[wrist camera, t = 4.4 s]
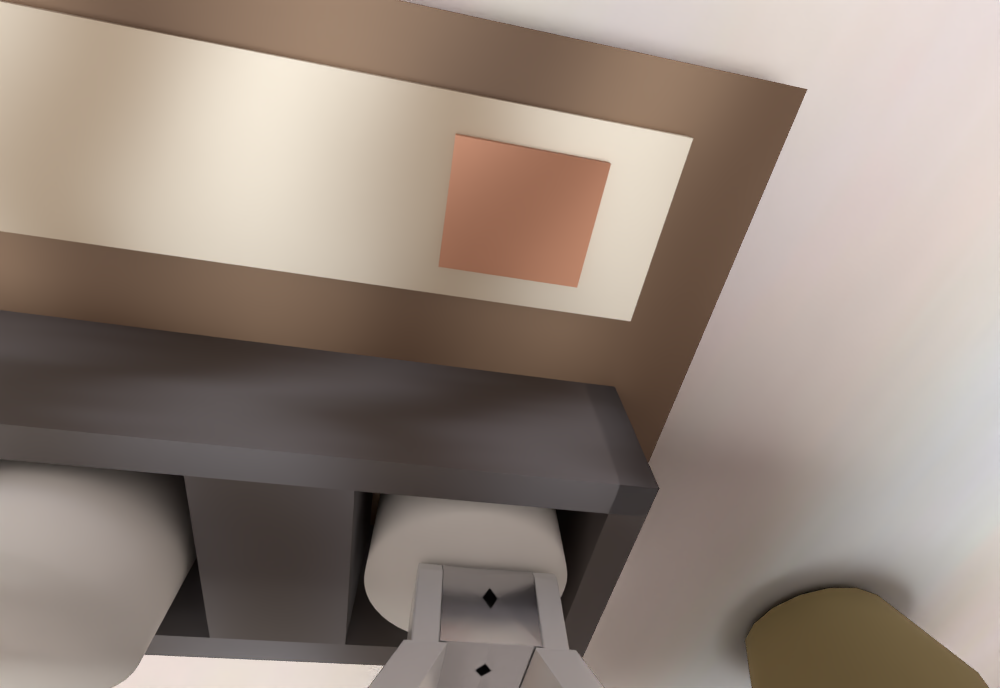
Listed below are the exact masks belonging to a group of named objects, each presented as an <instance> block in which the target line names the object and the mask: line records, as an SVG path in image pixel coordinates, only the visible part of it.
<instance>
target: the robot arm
mask: <svg viewBox="0 0 1000 688" xmlns="http://www.w3.org/2000/svg"><path fill="white" fill-rule="evenodd" d="M368 688H604V687H603V685H602V684H601V683H600V681H599V680H598V679H597V677H596V676H595V675H594V673H593V672H592V671H591V669H590V668H589V667H588V665H587V664H586V663H585V661H584V660H583V659H582V657H581V656H580V655H579V654H578V652H577V651H576V650H571V649H569V646H568V640H567V634H566V628H565V622H564V616H563V610H562V604H561V599H560V593H559V587H558V581H557V578H556V576H555V574H551V573H534V572H531V571H516V570H500V569H487V570H486V569H477V568H467V567H457V566H447V565H443V566H442V565H438V564H426V563H419V564H418V569H417V575H416V580H415V586H414V592H413V598H412V605H411V611H410V618H409V627H408V636H407V640H403V642H402V643H401V644H400V646H399V647H398V648H397V650H396V651H395V652H394V654H393V655H392V656H391V658H390V659H389V660H388V662H387V663H386V664H385V666H384V667H383V668H382V670H381V671H380V672H379V674H378V675H377V676H376V678H375V679H374V680H373V682H372V683H371V684H370V686H369V687H368Z"/></svg>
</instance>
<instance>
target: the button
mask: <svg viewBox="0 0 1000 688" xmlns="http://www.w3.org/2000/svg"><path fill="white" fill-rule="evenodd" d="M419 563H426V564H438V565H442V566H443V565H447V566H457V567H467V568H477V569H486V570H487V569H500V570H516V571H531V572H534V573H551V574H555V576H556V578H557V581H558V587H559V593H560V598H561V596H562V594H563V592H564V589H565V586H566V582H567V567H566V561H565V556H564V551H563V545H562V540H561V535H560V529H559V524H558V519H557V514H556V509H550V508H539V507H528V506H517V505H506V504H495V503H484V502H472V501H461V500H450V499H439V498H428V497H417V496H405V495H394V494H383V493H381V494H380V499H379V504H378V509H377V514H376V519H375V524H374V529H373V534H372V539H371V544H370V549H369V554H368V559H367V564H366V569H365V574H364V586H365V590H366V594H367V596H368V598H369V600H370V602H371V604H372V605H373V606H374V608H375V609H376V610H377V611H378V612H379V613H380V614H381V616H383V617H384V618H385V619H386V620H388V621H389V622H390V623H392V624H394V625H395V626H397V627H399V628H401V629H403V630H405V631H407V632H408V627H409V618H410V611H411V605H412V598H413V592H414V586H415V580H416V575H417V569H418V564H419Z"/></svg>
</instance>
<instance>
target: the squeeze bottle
mask: <svg viewBox="0 0 1000 688" xmlns="http://www.w3.org/2000/svg"><path fill="white" fill-rule="evenodd" d="M745 644H746V651H747V658H748V665H749V672H750V679H751V686H752V688H989V687H988V686H987V684H986V683H985V682H984V680H983V679H982V677H981V676H980V675H979V673H978V672H976V671H975V670H974V669H973V668H971V667H970V666H969V665H967V664H966V663H965V662H964V661H962V660H961V659H960V658H958V657H957V656H956V655H954V654H953V653H952V652H951V651H949V650H948V649H947V648H945V647H944V646H943V645H942V644H940V643H939V642H938V641H936V640H935V639H934V638H932V637H931V636H930V635H929V634H927V633H926V632H925V631H923V630H922V629H921V628H920V627H918V626H917V625H916V624H914V623H913V622H912V621H910V620H909V619H908V618H907V617H905V616H904V615H903V614H901V613H900V612H899V611H898V610H896V609H895V608H894V607H892V606H891V605H890V604H888V603H887V602H886V601H885V600H883V599H882V598H881V597H879V596H878V595H876V594H873V593H870V592H867V591H864V590H861V589H858V588H827V589H823V590H819V591H815V592H810V593H806V594H802V595H799V596H796V597H794V598H792V599H790V600H788V601H786V602H784V603H782V604H780V605H778V606H776V607H774V608H772V609H771V610H770V611H768V612H767V613H766V614H765V615H764V616H763V617H761V618H760V619H759V620H758V621H757V622H755V623H754V624H753V626H752V628H751V630H750V632H749V634H748V636H747V638H746V639H745Z"/></svg>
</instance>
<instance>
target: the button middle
mask: <svg viewBox="0 0 1000 688" xmlns="http://www.w3.org/2000/svg"><path fill="white" fill-rule="evenodd" d="M196 558H197V555H196V549H195V542H194V536H193V530H192V524H191V518H190V511H189V505H188V499H187V493H186V486H185V480H184V476H182V475H171V474H160V473H149V472H138V471H127V470H115V469H104V468H93V467H82V466H71V465H60V464H49V463H37V462H26V461H15V460H4V459H0V688H112V687H114V686H116V685H118V684H119V683H121V682H122V681H124V680H126V679H127V678H128V677H129V676H130V675H131V674H132V673H133V672H134V671H135V669H136V668H137V666H138V665H139V663H140V661H141V659H142V658H143V656H144V654H145V652H146V650H147V648H148V647H149V645H150V643H151V641H152V639H153V637H154V635H155V634H156V632H157V630H158V628H159V626H160V624H161V622H162V621H163V619H164V617H165V615H166V613H167V611H168V609H169V608H170V606H171V604H172V602H173V600H174V598H175V596H176V595H177V593H178V591H179V589H180V587H181V585H182V583H183V582H184V580H185V578H186V576H187V574H188V572H189V570H190V569H191V567H192V565H193V563H194V561H195V559H196Z"/></svg>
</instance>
